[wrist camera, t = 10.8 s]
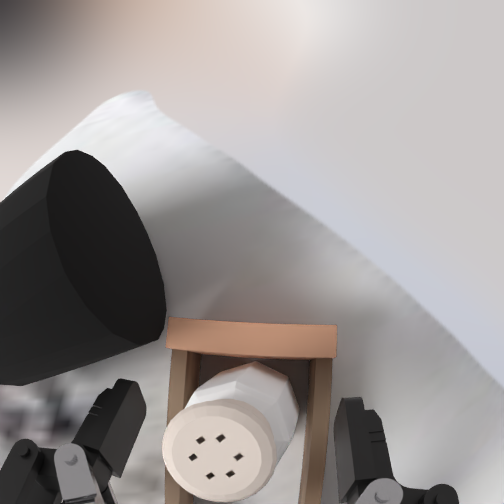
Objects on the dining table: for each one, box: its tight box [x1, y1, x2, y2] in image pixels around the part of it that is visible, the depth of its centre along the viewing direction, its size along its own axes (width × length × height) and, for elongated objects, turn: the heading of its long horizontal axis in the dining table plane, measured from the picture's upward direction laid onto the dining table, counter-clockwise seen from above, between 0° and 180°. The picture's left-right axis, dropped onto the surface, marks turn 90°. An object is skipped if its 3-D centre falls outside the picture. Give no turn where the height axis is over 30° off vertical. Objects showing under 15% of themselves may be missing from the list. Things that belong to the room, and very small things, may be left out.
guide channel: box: [165, 317, 337, 504], centre depth 13 cm, size 14×8×4 cm, turn 176°
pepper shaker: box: [162, 361, 300, 502], centre depth 11 cm, size 5×5×11 cm
